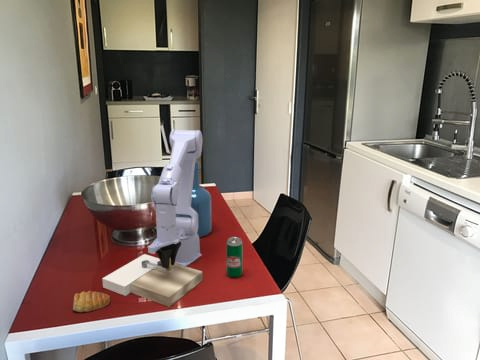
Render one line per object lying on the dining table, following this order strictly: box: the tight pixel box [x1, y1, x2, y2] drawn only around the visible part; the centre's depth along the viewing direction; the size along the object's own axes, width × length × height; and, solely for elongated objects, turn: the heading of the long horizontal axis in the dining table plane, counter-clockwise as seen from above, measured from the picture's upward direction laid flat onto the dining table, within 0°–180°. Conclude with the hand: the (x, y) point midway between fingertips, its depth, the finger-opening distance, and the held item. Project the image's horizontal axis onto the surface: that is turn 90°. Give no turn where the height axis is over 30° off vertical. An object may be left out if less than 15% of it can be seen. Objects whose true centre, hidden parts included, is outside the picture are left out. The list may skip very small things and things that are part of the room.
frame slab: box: [101, 253, 160, 297], centre depth 122 cm, size 18×9×3 cm, turn 151°
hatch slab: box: [130, 263, 204, 308], centre depth 118 cm, size 16×14×3 cm
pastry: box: [72, 290, 111, 313], centre depth 108 cm, size 9×7×4 cm
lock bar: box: [142, 256, 172, 274], centre depth 121 cm, size 11×2×5 cm, turn 61°
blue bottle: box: [177, 158, 213, 238], centre depth 153 cm, size 14×13×30 cm
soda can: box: [225, 236, 244, 279], centre depth 123 cm, size 5×5×12 cm
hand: (168, 265), depth 119 cm, fingers closed
